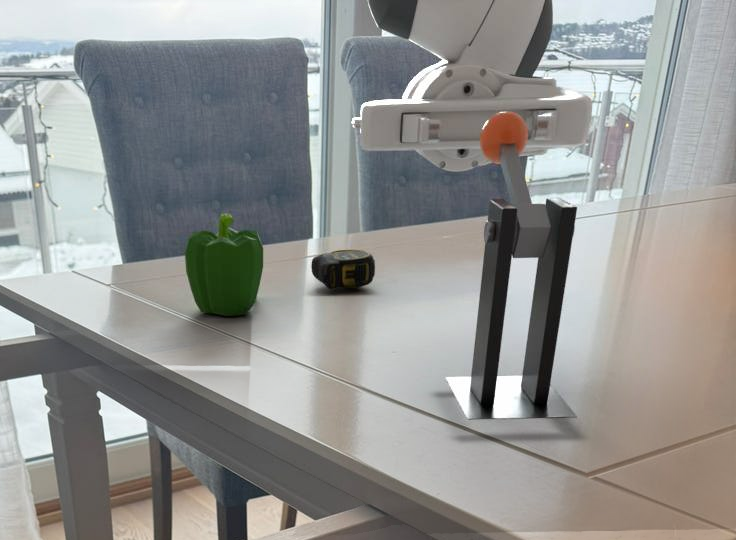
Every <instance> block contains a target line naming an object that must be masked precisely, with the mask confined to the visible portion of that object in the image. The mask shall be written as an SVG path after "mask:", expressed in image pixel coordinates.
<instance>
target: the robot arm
mask: <svg viewBox="0 0 736 540" xmlns="http://www.w3.org/2000/svg"><path fill="white" fill-rule="evenodd" d="M366 1H367V4H368V7H369V10H370V13H371V16H372V18H373V19H374V23H375V25H376V26H377V28H378V29H380V30H382V31H384V32H386V33H387V34H391V35H393V36H395V37H398V38H400V39H402V40H404V41H406V42H408V41H410V42H412V43H414V44H415V45H417V46H419V47H421V48H422V49H424V50H426V51H427V52H429V53H431V54H433V55H434V56H436V57H437V58H439V59H441V61H439V62H438V63H436V64H433V65H430V66H429V67H426V68H424V69H422V70H421V71H420V72H419V73H418V74H417V75H416V76H414V77H413V79H412V80H411V81H410V82H409V83H408V85H407V87H406V89H405V91H404V93H403V95H402V99H381V100H371V101H368V102H364V103H363V104H362V105H361V107H360V117H359V116H358V117H353V118H352V121H351V125H352V128H353V129H354V130H359V146H360V148H361V150H363V151H368V152H393V151H396V152H397V151H415V152H416V153H417V154H419V155H420V156H422V157H423V158H424V159H426V160H427V161H428V162H430V163H431V164H433V165H434V166H435V167H437V168H438V169H442V170H444V171H448V172H466V171H469V170H472V169H475V168H477V167H482V166H486V165H489V164H492V163H493V162H491V161H489V160H488V159H487V158H486V157H485V156H484V154H483V153H482V150H481V147H480V135H481V131H482V128H483V126H484V125H485V123H486V122H487V121H488V120H489V119H490V118H491V117H492V116H493V115H495V114H497V113H499V112H503V111H510V112H514V113H516V114H518V115H519V116H521V117H522V118H523V120H524V121H525V123H526V126H527V130H528V139H527V143H526V146H525V148H524V150H523V152H522V153H521V154H520V155H519V158H528V157H531V158H532V157H535V156H543V155H545V154H547V153H548V151H549V150H554V149H568V148H578V147H582V146H583V145H585V143H587V141H588V137H589V132H590V128H591V120H592V115H593V101H592V99H591V97H590V96H589V95H586V94H584V93H583V92H580V91H578V90H574V89H571V88H568V87H563V86H557V80H556V79H555V78H554V77H550V76H549V77H544V76H541V75H540V76H537V75H534V74H535V73H536V70H537V69H538V67H539V65H540V63H541V62H542V59H543V57H544V55H545V53H546V51H547V48H548V46H549V42H550V39H551V36H552V33H553V32H552V31H553V27H554V19H553V18H554V11H553V9H554V8H553V0H366Z"/></svg>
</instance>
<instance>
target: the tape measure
mask: <svg viewBox="0 0 736 540" xmlns="http://www.w3.org/2000/svg"><path fill="white" fill-rule="evenodd" d="M311 273H312V276H313V277H314V278H315V279H316V280H317V281H319V282H320V283H322V284H323V285H324V286H325V287H327V288H328V289H329V290H333V289H334V290H335V289H359V288H361V287H365V286H368V285H370V284H371V283H372V282H373V280H374V277H375V275H376V261H375V258H374V256H373V254H372V253H371V252H369V251H365V250H363V249H362V250H361V249H339V250H334V251H330V252H325V253H323V254H319V255H316V256H314V257H313V258H312V259H311Z"/></svg>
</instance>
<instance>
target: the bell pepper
mask: <svg viewBox="0 0 736 540" xmlns="http://www.w3.org/2000/svg"><path fill="white" fill-rule="evenodd" d="M233 222H234V218H233V217H232V215H231V214H230V213H221V215H220V216H219V219H218V232H217V233H214V232H212V231H210V230H197V231H193V232H192V233H191V235H190V237H189V238H188V240H187V243H186V247H185V250H184V260H185V261H184V262H185V273H186V275H187V279H188V284H189V287H190V288H189V289H190V291H191V294H192V297H193V300H194V303H195V304H196V306H197V308H198V309H199V311H200V313H204V314H210V315H211V314H212V315H213V314H214V315H215V314H217V315H221V316H224V317H229V316H233V317H234V316H242V315H246V314H248V312H250V311H251V309H252V308H253V306H254V304H255V303H256V300H257V298H258V293H259V290H260V286H261V285H260V284H261V281H262V276H263V269H264V246H263V243H262V240H261V238H260V236H259V233H258V230H249V229H245V230H241V231H238V230H236V229H233V228H230V226H232V224H233Z"/></svg>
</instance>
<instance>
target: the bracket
mask: <svg viewBox="0 0 736 540" xmlns="http://www.w3.org/2000/svg"><path fill="white" fill-rule="evenodd" d="M544 204H545V206H546V209H547V213H548V216H549V220H550V223H551V227H552V228H551V232H550V235H549V239H548V243H547V247H546V250H545V254H544V257H543V258H537V263H536V264H537V265H536V271H535V279H534V287H533V295H532V301H531V308H530V315H529V323H528V330H527V338H526V344H525V345H526V346H525V352H524V360H523V368H522V374H521V375H498V373H499V365H500V358H501V357H500V356H501V348H502V341H503V334H504V333H503V331H504V324H505V323H504V322H505V315H506V307H507V301H508V300H507V298H508V290H509V282H510V273H511V266H512V258H513V257H512V250H513V242H514V234H515V225H516V217H517V208H516V207H514V206H513V205H511V202H508V201H507V200H505V199H504V198H491V199H489V204H488V212H487V213H488V214H487V220H486V221H485V223H484V227H483V228H484V229H483V240H484V242H485V243H484V249H483V250H484V251H483V262H482V269H481V278H480V279H481V280H480V289H479V298H478V306H477V308H478V309H477V317H476V318H477V319H476V328H475V338H474V345H473V356H472V366H471V375H470V376H445V380H446V382H447V384H448V386H449V387H450V389H451V391H452V394H453V395H454V397H455V399H456V400H457V402H458V405H459V406H460V408H461V410H462V413H464V415H465V418H466V419H467V420H508V419H510V420H513V419H514V420H515V419H516V420H517V419H565V418H567V419H570V418H572V419H573V418H578V416H577V414H576V413H575V412H574V411H573V410H572V408H571V407H570V406H569V405H568V404H567V402H566V401H565V400H564V399H563V397H562V396H561V395H560V394H559V393H558V391H557V390H556V389H555V388H554V387H553V385H552V384H551V383H552V375H553V368H554V363H555V362H554V361H555V355H556V350H557V342H558V335H559V329H560V324H561V316H562V310H563V305H564V304H563V303H564V297H565V290H566V284H567V277H568V270H569V264H570V259H571V258H570V257H571V251H572V244H573V238H574V235H575V230H576V229H575V228H576V225H575V224H576V220H577V219H576V218H577V217H576V216H577V213H578V212H577V211H578V207H577V206H575V205H574V204H572V203H570V202H568V201H567V200H564V199H563V198H561V197H547V198H545V203H544Z"/></svg>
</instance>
